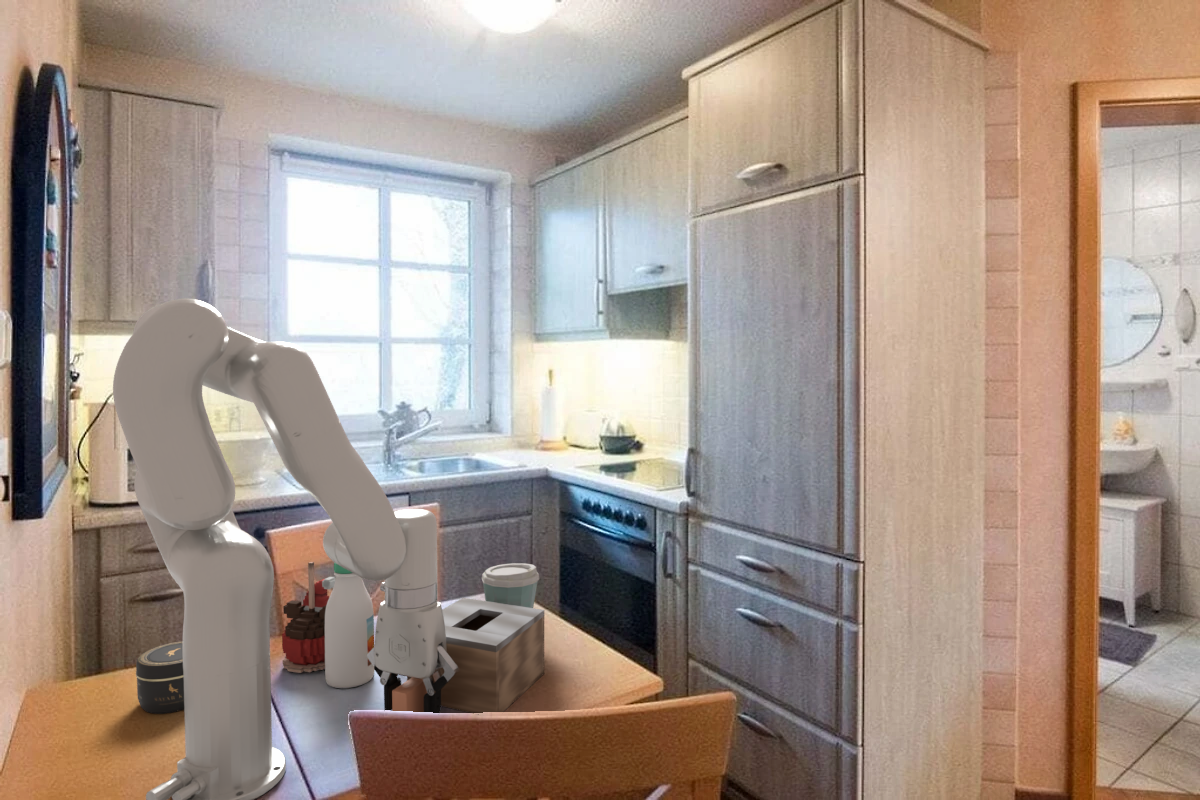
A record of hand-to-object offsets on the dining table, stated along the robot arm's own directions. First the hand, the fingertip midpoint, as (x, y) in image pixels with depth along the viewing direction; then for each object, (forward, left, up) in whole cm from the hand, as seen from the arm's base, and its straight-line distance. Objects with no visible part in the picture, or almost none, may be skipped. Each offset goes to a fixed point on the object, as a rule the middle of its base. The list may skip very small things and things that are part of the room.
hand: (412, 711), depth 103 cm
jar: (-10, +37, -1) cm, 38 cm away
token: (0, 0, -1) cm, 1 cm away
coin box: (+12, -4, -1) cm, 13 cm away
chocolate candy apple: (+8, +27, -1) cm, 28 cm away
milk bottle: (+6, +17, -1) cm, 18 cm away
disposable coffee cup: (+28, -1, -1) cm, 28 cm away
